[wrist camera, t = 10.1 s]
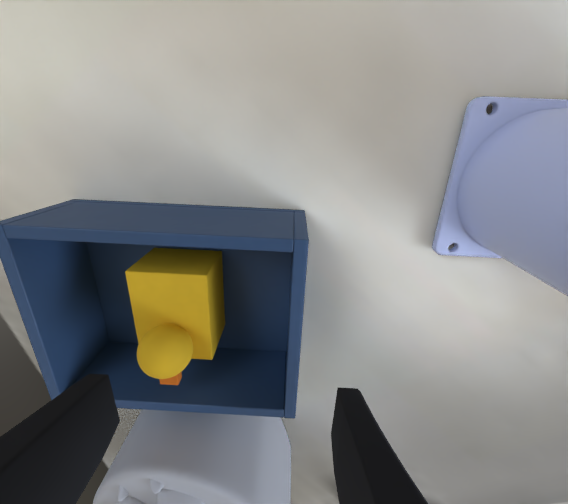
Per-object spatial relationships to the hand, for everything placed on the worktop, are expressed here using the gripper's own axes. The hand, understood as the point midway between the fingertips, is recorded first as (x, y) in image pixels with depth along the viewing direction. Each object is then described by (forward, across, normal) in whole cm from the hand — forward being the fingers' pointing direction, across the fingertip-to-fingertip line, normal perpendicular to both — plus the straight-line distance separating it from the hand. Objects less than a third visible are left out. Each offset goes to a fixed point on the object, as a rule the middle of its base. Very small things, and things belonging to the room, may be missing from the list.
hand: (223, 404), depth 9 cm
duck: (+9, +4, +1) cm, 10 cm away
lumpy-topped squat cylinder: (+10, +3, +14) cm, 17 cm away
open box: (+9, +4, +1) cm, 10 cm away
